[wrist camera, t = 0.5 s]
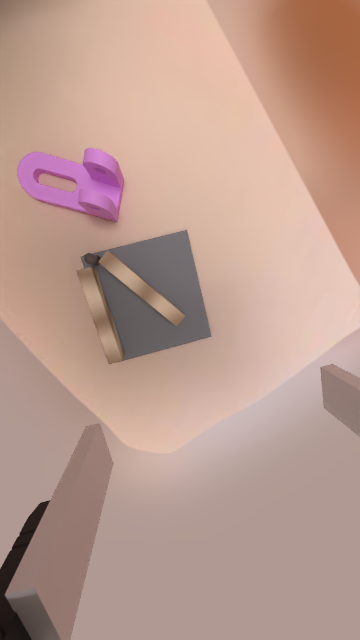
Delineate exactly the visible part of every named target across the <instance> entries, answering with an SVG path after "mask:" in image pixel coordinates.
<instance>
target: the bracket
mask: <svg viewBox="0 0 360 640" xmlns="http://www.w3.org/2000/svg"><path fill="white" fill-rule="evenodd" d="M41 173H48V174H52V175H55V176H59V177H62V178H66V179H69V180H73V181H76V182H77V189H76V190H75V191H74V192H67V191H64V190H60V189H56V188H53V187H49V186H46V185H42V184H39V182H38V176H39V175H40V174H41ZM18 179H19V182H20V184H21V186H22V187H23V189H24V190H25V191H26V192H27V193H28V194H29V195H31V196H32V197H34V198H36V199H37V200H39V201H42V202H46V203H49V204H53V205H57V206H60V207H64V208H68V209H72V210H75V211H79V212H83V213H87V214H90V215H94V216H98V217H102V218H105V219H109V220H113V221H116V222H117V220H118V214H119V208H120V202H121V197H122V191H123V185H124V178H123V176H122V173H121V170H120V167H119V165H118V162H117V161H116V160H115V159H114V158H113V157H112V156H110V155H109V154H107V153H105V152H103V151H101V150H98V149H94V148H87V149H85V154H84V161H83V165H82V164H78V163H75V162H72V161H68V160H65V159H61V158H58V157H55V156H51V155H48V154H45V153H41V152H33V153H29V154H27V155H26V156H24V157H23V158H22V160H21V161H20V163H19V166H18Z"/></svg>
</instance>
